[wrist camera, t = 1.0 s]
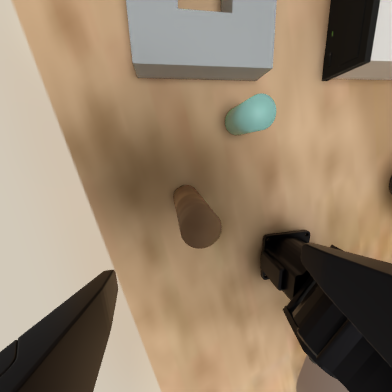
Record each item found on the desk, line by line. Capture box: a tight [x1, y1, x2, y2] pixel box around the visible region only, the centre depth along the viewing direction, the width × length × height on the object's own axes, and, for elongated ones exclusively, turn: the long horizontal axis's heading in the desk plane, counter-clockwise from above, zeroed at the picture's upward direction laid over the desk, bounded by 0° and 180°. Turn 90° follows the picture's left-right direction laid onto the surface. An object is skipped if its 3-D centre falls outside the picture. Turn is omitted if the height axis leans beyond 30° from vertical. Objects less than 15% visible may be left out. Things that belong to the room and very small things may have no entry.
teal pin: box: [225, 94, 276, 135], centre depth 18 cm, size 3×3×5 cm
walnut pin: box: [174, 185, 222, 248], centre depth 17 cm, size 3×3×9 cm
